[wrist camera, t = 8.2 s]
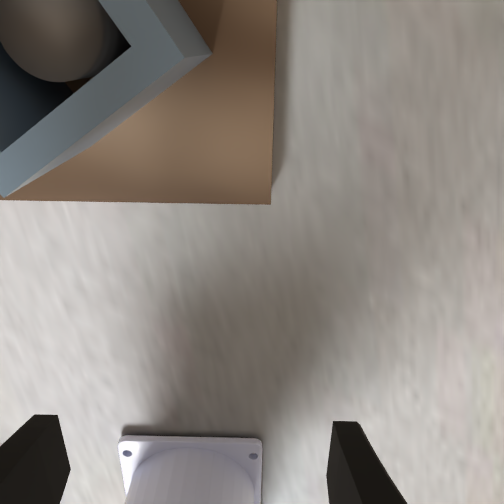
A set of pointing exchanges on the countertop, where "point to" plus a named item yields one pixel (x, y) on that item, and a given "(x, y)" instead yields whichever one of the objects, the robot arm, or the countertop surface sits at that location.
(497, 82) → the countertop surface
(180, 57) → the duct sleeve
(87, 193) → the base
